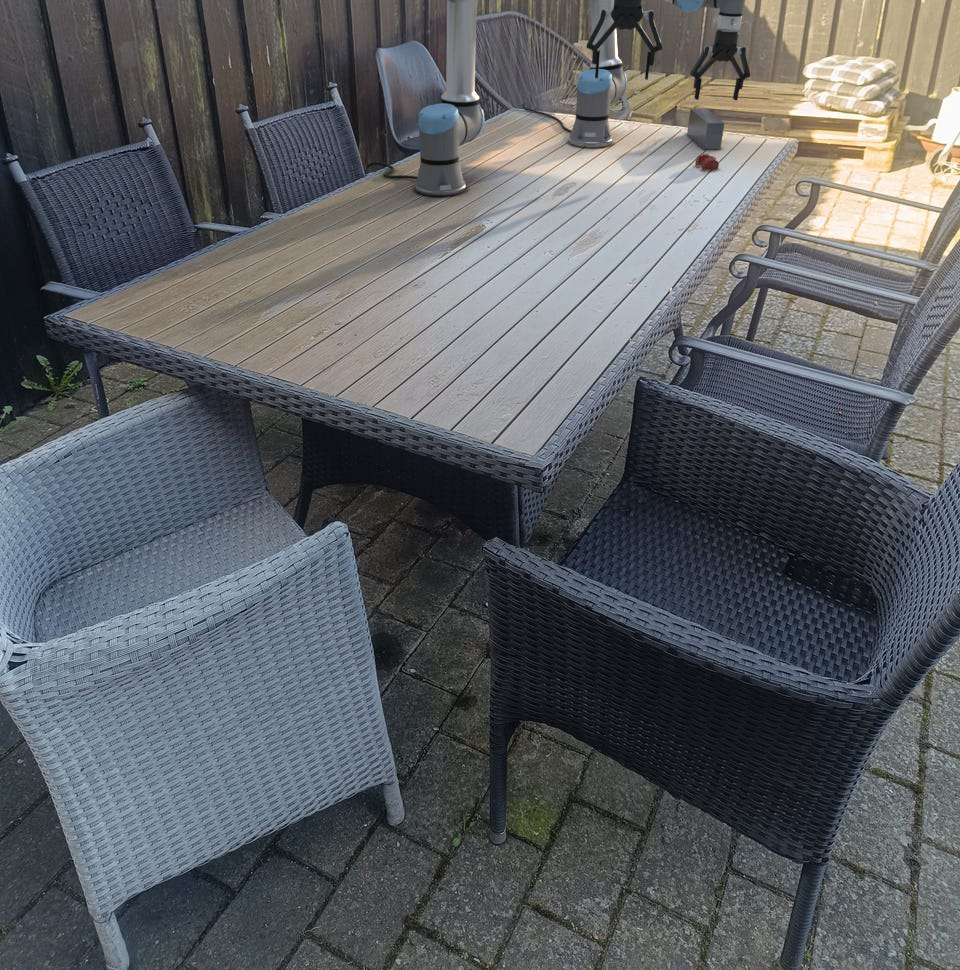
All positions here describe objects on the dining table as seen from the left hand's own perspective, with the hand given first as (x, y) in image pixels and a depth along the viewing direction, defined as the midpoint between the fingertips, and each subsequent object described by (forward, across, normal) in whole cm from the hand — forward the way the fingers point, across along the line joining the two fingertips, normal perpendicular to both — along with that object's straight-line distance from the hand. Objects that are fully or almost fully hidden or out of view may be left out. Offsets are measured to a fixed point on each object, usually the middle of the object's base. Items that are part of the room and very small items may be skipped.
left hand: (621, 78), depth 232 cm
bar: (+33, -31, -74) cm, 87 cm away
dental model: (+33, -30, -39) cm, 59 cm away
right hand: (+17, -33, -66) cm, 75 cm away
